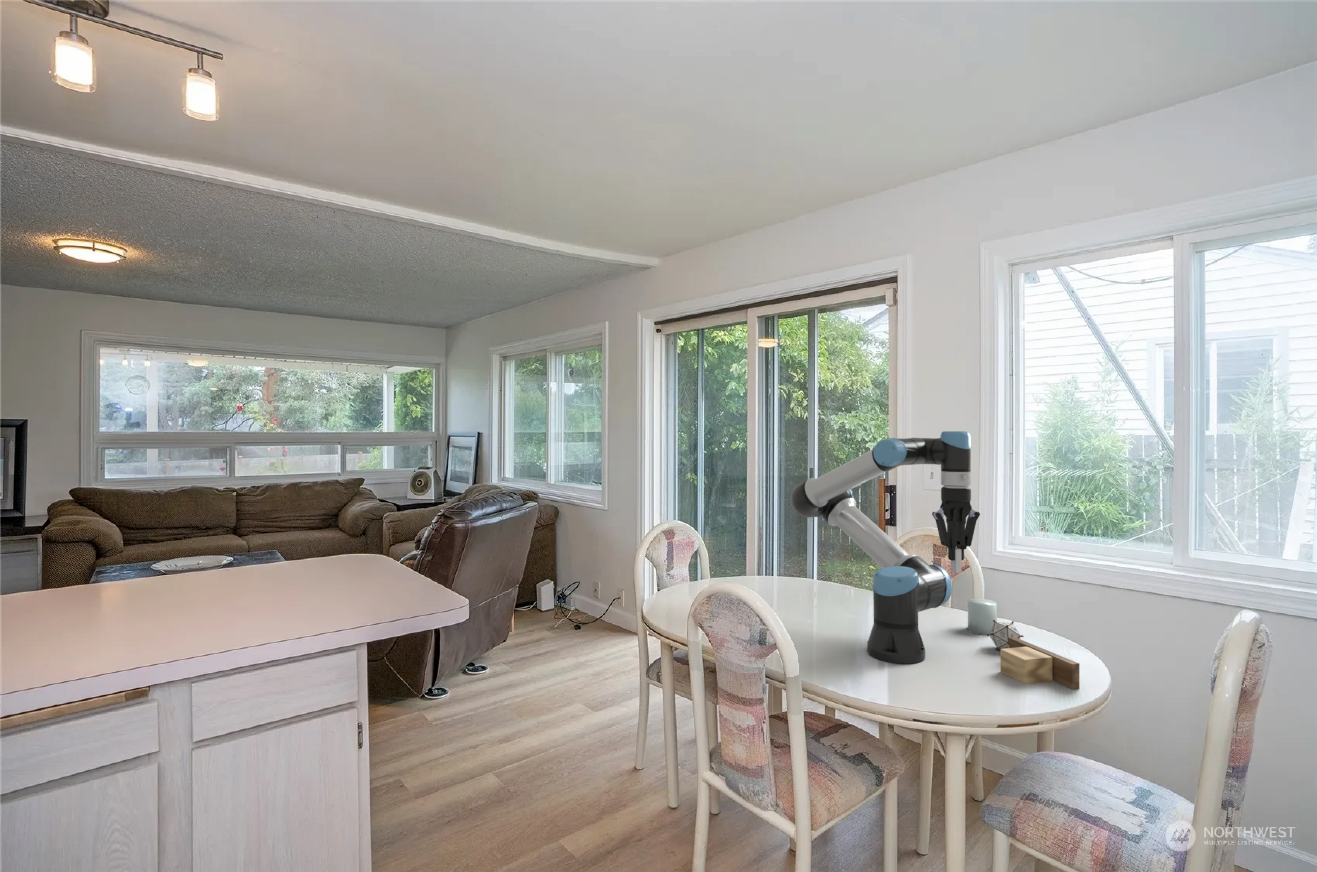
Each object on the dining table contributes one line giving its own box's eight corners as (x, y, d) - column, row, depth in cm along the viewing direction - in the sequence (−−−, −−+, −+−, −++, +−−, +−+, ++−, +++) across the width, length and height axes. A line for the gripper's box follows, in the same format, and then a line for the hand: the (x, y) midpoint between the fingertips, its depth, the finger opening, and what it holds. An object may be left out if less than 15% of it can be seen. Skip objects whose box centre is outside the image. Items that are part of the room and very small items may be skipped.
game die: (1008, 661, 180) (1025, 631, 181) (1015, 660, 172) (1033, 629, 173) (977, 641, 183) (994, 612, 185) (983, 640, 176) (1001, 609, 177)
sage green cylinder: (980, 635, 191) (980, 606, 190) (962, 627, 198) (962, 599, 198) (1002, 633, 192) (1002, 604, 192) (983, 626, 200) (983, 597, 200)
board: (1072, 689, 151) (1072, 664, 151) (1008, 659, 170) (1008, 637, 170) (1079, 688, 151) (1079, 663, 151) (1015, 659, 171) (1014, 637, 171)
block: (1024, 684, 155) (1024, 659, 154) (1000, 672, 162) (1000, 648, 162) (1052, 681, 156) (1052, 657, 156) (1027, 669, 164) (1027, 646, 164)
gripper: (940, 488, 170) (941, 575, 170) (986, 487, 171) (986, 574, 171) (926, 486, 177) (926, 569, 178) (970, 485, 179) (970, 568, 179)
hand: (956, 571), depth 175 cm, fingers closed
